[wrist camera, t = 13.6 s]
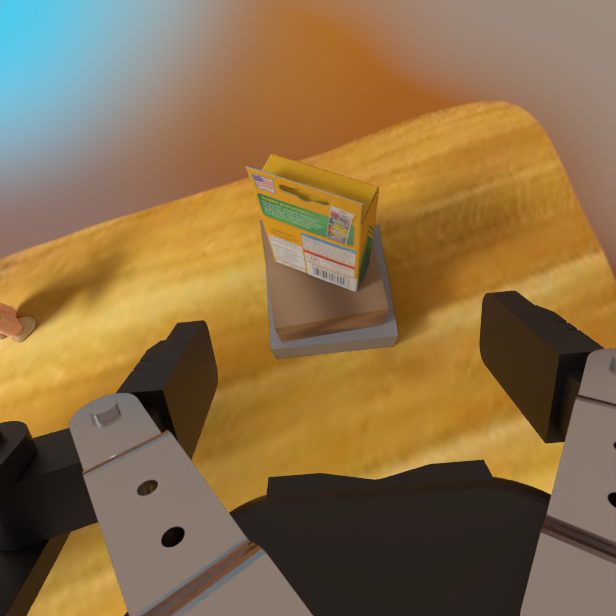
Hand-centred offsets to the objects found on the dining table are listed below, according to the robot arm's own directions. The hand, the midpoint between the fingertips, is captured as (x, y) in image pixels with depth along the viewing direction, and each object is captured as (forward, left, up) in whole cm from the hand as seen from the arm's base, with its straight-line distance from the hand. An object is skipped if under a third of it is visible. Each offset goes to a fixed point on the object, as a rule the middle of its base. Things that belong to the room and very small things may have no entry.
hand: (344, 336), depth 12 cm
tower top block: (0, +12, -22) cm, 25 cm away
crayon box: (0, +12, -19) cm, 22 cm away
